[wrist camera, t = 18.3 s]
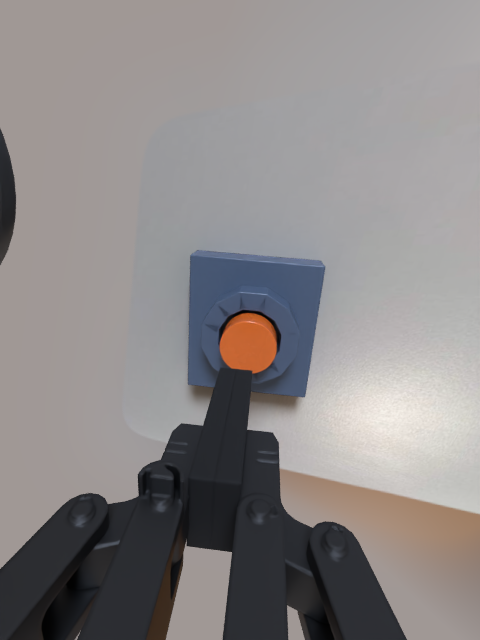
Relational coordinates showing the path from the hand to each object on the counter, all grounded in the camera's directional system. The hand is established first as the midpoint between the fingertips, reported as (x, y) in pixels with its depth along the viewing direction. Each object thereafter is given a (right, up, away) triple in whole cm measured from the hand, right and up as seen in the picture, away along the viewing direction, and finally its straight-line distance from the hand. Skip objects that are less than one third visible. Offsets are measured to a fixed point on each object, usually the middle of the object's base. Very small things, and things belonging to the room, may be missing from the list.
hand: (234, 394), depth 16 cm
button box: (+1, +3, +10) cm, 11 cm away
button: (+1, +2, +7) cm, 8 cm away
